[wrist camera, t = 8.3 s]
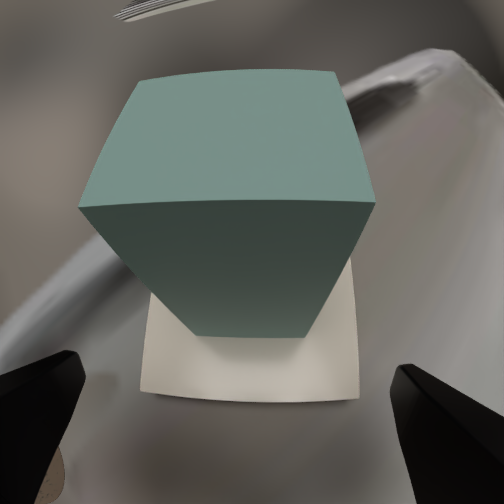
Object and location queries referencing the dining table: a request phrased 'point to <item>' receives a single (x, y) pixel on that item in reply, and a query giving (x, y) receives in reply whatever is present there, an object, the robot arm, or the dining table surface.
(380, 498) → the dining table surface
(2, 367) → the dining table surface
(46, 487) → the teacup with lid
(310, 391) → the plate
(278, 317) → the teal block
